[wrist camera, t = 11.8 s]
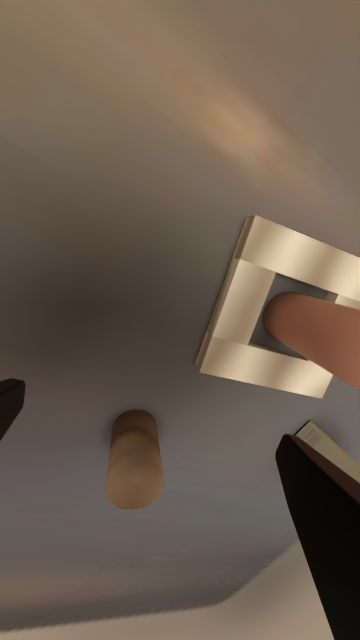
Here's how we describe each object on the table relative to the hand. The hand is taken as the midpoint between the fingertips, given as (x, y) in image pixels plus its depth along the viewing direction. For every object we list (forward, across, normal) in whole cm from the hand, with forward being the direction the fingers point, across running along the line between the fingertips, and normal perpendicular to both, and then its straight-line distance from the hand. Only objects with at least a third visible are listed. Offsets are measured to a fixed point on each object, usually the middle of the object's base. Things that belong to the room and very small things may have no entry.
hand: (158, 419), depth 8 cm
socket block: (+14, -10, -2) cm, 18 cm away
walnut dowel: (+12, 0, +11) cm, 16 cm away
